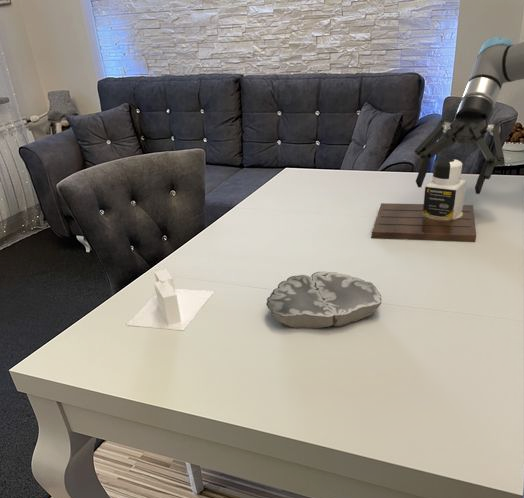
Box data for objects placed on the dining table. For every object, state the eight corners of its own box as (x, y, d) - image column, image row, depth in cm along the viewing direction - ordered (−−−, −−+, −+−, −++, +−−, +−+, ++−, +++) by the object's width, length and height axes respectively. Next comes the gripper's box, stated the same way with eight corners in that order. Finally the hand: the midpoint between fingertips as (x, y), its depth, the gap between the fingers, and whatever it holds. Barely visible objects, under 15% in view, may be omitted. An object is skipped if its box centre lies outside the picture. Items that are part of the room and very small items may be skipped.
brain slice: (358, 280, 103) (358, 266, 101) (391, 323, 89) (392, 307, 87) (258, 294, 101) (256, 280, 99) (275, 340, 86) (274, 324, 85)
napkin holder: (184, 330, 91) (179, 300, 88) (125, 325, 94) (118, 296, 91) (214, 291, 103) (211, 263, 100) (161, 287, 106) (156, 260, 103)
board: (472, 211, 130) (473, 204, 129) (475, 241, 114) (476, 234, 113) (380, 208, 136) (380, 202, 135) (371, 238, 120) (371, 230, 119)
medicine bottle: (422, 215, 125) (427, 163, 119) (433, 206, 130) (438, 155, 123) (452, 219, 121) (459, 165, 115) (462, 210, 126) (469, 158, 120)
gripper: (535, 117, 121) (505, 202, 119) (428, 113, 134) (399, 190, 132) (534, 95, 114) (502, 184, 112) (421, 93, 127) (391, 173, 125)
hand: (446, 187), depth 122 cm, fingers open, 13 cm apart
